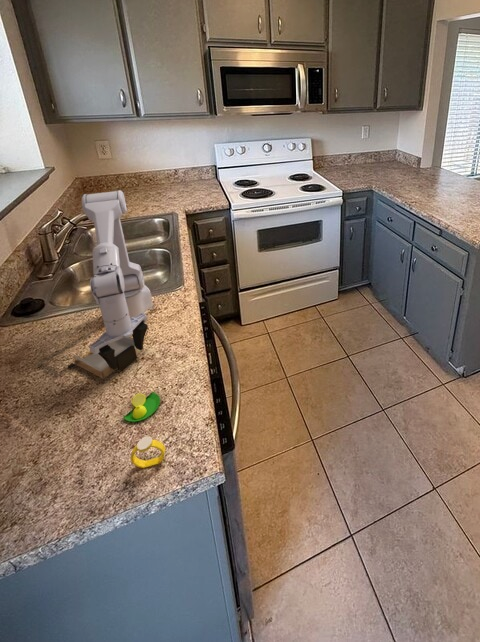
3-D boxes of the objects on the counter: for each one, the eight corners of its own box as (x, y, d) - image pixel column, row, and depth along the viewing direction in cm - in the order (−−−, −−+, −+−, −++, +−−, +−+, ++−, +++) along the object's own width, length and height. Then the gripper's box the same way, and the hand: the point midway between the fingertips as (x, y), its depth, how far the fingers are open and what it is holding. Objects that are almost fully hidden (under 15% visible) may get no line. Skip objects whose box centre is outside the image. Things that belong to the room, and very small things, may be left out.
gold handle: (68, 369, 96) (67, 365, 95) (120, 335, 108) (119, 332, 108) (71, 370, 95) (70, 367, 95) (123, 336, 108) (122, 333, 107)
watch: (168, 453, 74) (163, 432, 72) (165, 466, 71) (160, 445, 69) (136, 460, 72) (130, 439, 70) (133, 474, 70) (126, 452, 68)
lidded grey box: (75, 365, 97) (70, 350, 95) (116, 338, 107) (113, 323, 105) (108, 383, 91) (104, 367, 89) (149, 353, 101) (145, 338, 99)
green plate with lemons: (117, 409, 84) (115, 400, 83) (151, 388, 89) (149, 379, 88) (131, 430, 79) (128, 420, 78) (166, 406, 84) (164, 397, 83)
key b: (93, 350, 102) (93, 349, 102) (95, 350, 101) (95, 349, 101) (78, 360, 99) (77, 359, 99) (80, 360, 98) (79, 359, 97)
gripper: (97, 337, 82) (110, 382, 87) (151, 303, 94) (160, 345, 99) (79, 328, 85) (92, 372, 90) (133, 297, 97) (142, 337, 102)
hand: (126, 357), depth 95 cm, fingers open, 7 cm apart
